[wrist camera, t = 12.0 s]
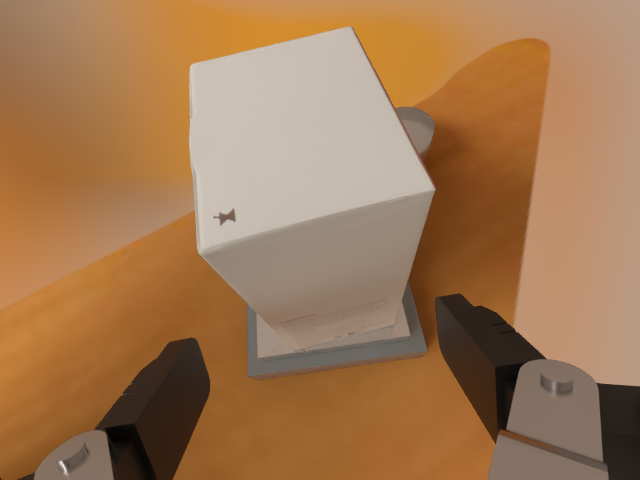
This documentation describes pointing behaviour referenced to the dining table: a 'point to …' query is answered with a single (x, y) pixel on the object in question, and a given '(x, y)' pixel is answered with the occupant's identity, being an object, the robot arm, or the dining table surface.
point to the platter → (276, 348)
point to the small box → (306, 186)
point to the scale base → (340, 357)
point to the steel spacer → (418, 129)
